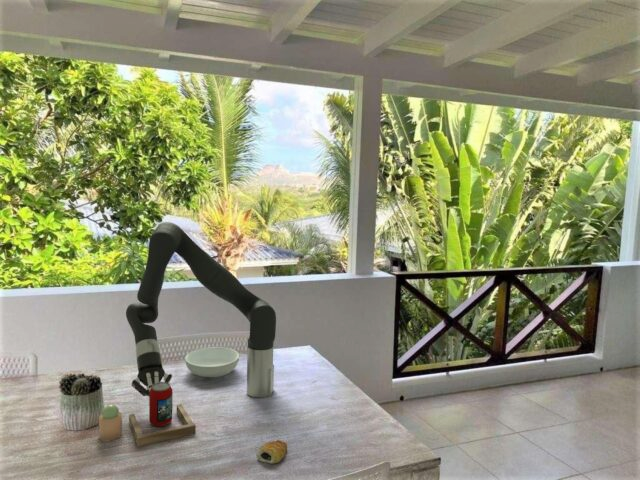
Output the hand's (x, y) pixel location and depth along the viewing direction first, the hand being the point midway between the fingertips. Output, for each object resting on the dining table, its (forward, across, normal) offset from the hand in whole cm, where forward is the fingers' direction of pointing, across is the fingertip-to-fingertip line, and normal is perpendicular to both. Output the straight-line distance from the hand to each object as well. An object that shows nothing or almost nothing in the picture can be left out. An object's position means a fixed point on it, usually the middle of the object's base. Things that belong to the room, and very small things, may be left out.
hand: (155, 406), depth 147 cm
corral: (+7, 0, +1) cm, 7 cm away
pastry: (+28, -24, +22) cm, 43 cm away
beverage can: (+5, -1, -1) cm, 5 cm away
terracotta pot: (+6, +14, 0) cm, 15 cm away
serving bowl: (-17, -27, -24) cm, 40 cm away
